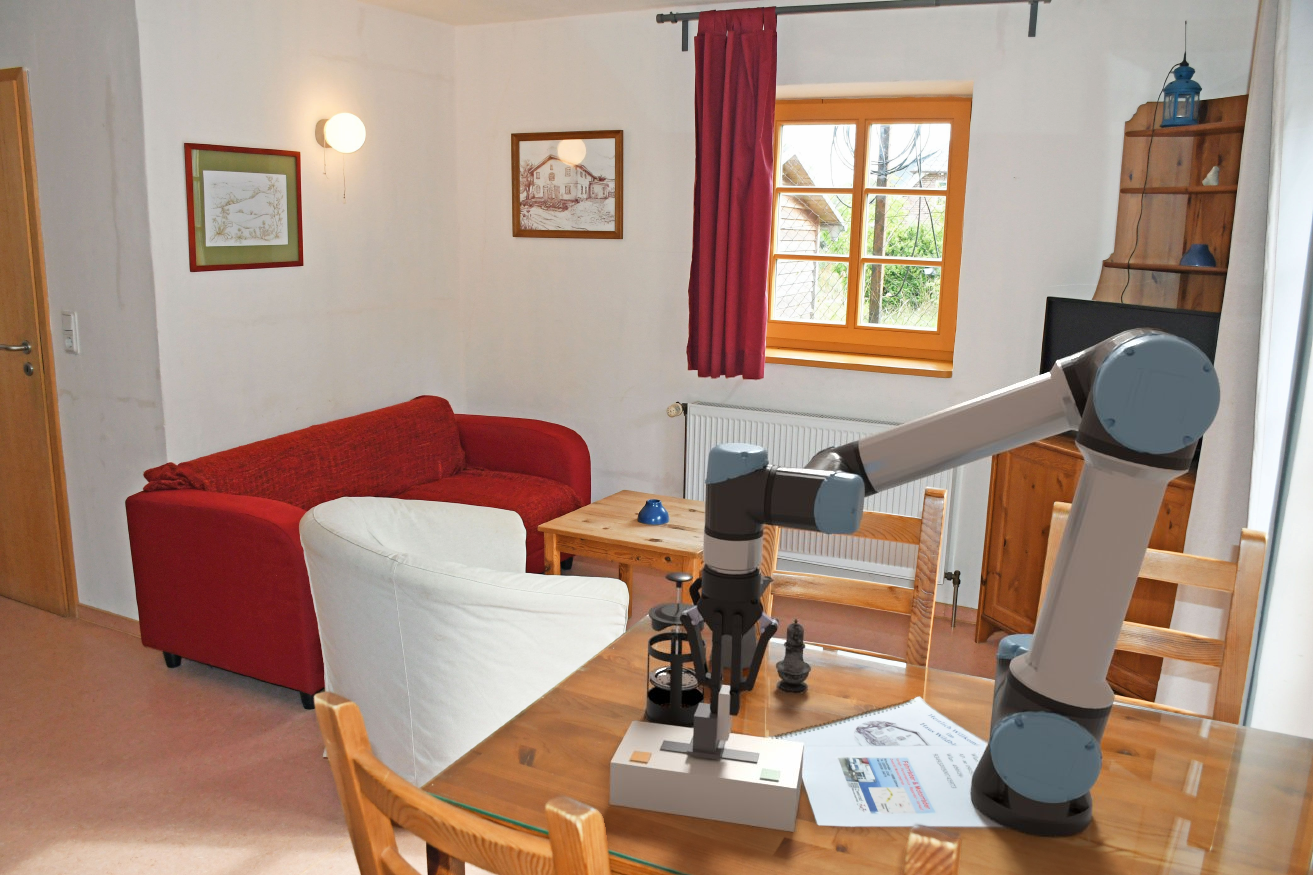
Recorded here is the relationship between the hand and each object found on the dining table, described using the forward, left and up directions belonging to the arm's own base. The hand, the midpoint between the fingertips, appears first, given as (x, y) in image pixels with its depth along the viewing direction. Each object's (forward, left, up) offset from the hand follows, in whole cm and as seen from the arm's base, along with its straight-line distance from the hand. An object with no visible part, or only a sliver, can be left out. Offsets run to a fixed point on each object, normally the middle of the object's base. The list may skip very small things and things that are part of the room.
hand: (723, 735), depth 132 cm
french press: (+11, -21, -9) cm, 26 cm away
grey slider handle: (+2, 0, -2) cm, 3 cm away
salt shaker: (-6, -36, -9) cm, 38 cm away
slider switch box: (+2, 0, -9) cm, 9 cm away
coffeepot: (+6, -44, -9) cm, 46 cm away
